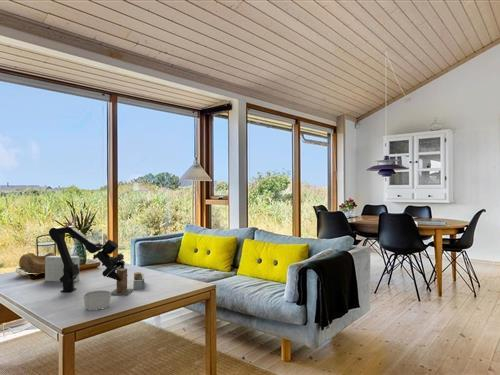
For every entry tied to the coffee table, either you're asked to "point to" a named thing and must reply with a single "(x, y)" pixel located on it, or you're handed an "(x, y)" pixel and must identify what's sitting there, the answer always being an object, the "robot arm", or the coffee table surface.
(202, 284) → the coffee table surface
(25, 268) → the rough brown rock
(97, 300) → the ramekin
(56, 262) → the skincare box
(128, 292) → the charcoal mat
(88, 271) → the coffee table surface
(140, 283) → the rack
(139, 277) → the upper oak offcut
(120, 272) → the brown wooden block
